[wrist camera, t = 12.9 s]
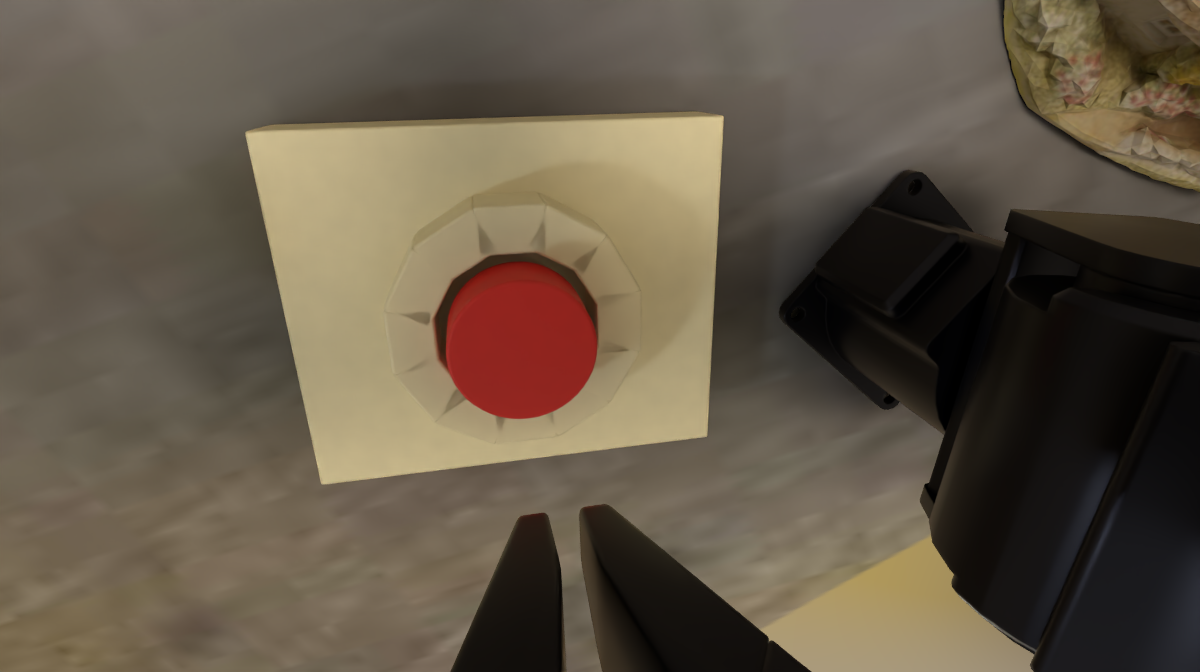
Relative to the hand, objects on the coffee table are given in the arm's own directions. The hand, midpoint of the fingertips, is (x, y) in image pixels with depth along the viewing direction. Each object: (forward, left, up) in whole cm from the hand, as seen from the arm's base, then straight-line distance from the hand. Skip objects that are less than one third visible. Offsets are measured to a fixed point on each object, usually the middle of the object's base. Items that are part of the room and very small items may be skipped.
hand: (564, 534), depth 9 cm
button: (0, 0, -8) cm, 8 cm away
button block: (0, 0, -12) cm, 12 cm away
